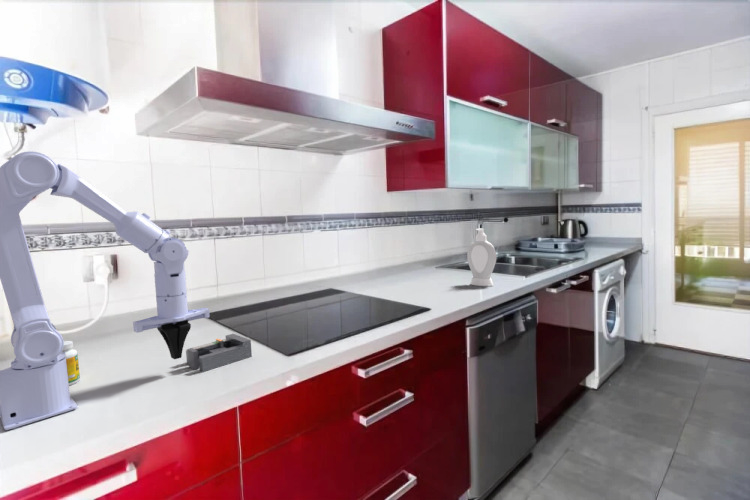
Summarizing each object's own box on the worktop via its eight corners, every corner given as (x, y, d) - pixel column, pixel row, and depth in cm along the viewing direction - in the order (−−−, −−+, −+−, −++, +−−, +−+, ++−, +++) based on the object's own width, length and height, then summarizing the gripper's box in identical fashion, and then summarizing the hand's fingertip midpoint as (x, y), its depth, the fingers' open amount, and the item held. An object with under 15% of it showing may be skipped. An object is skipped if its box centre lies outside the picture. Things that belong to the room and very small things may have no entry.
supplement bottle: (49, 384, 81) (44, 344, 81) (77, 376, 85) (73, 338, 84) (53, 390, 78) (49, 348, 77) (82, 382, 82) (78, 342, 81)
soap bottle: (462, 285, 171) (461, 229, 169) (469, 283, 177) (469, 228, 175) (492, 288, 163) (491, 228, 161) (498, 285, 169) (498, 227, 167)
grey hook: (195, 370, 86) (194, 352, 85) (183, 363, 90) (182, 346, 90) (232, 358, 92) (231, 342, 91) (220, 353, 96) (218, 337, 96)
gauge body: (202, 372, 85) (201, 353, 84) (186, 363, 90) (185, 346, 90) (251, 356, 93) (250, 339, 93) (234, 349, 99) (233, 333, 98)
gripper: (139, 303, 75) (145, 372, 77) (214, 290, 86) (218, 352, 87) (127, 298, 80) (133, 364, 81) (199, 287, 91) (203, 345, 92)
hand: (176, 357), depth 85 cm, fingers closed
